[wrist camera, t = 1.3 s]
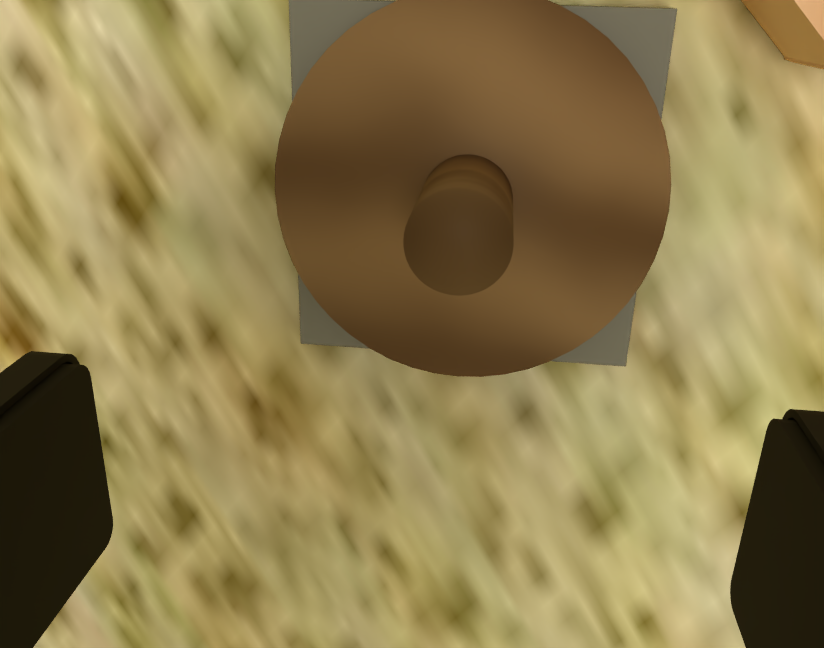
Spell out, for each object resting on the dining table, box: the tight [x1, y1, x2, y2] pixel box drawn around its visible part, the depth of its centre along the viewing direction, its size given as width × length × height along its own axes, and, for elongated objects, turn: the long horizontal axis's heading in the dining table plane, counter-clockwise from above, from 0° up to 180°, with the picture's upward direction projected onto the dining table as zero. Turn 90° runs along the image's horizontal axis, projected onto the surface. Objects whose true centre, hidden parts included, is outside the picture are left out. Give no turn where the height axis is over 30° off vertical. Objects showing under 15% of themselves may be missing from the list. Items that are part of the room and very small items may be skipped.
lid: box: [275, 0, 671, 377], centre depth 24 cm, size 13×13×6 cm
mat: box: [289, 0, 677, 366], centre depth 27 cm, size 12×12×1 cm
